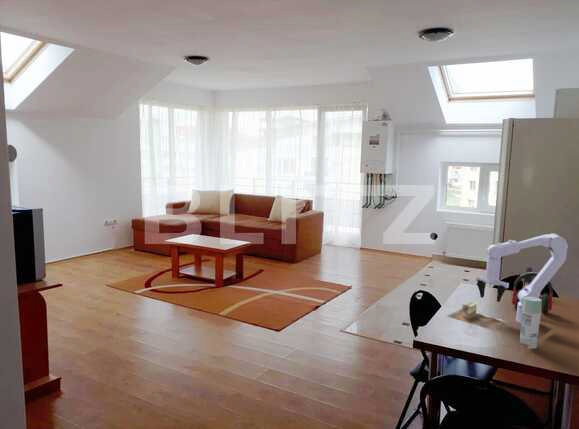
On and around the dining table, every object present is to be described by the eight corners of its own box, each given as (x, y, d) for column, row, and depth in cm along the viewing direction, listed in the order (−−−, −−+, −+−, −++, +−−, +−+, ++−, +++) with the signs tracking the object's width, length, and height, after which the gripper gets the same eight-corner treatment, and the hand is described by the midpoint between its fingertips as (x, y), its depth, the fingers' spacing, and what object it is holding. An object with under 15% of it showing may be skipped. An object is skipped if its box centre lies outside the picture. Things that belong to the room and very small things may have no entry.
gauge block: (477, 315, 213) (478, 303, 212) (468, 319, 207) (469, 307, 206) (468, 313, 216) (469, 301, 215) (459, 317, 210) (460, 304, 209)
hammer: (511, 287, 232) (524, 264, 254) (510, 314, 236) (523, 289, 258) (524, 289, 228) (536, 266, 250) (523, 317, 233) (534, 292, 255)
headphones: (511, 311, 225) (514, 272, 222) (511, 305, 234) (514, 268, 231) (551, 317, 217) (555, 277, 214) (550, 311, 226) (554, 272, 223)
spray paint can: (540, 348, 181) (545, 301, 178) (526, 349, 180) (531, 301, 177) (529, 342, 187) (533, 295, 185) (515, 343, 186) (519, 296, 183)
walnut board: (507, 324, 206) (508, 319, 206) (493, 333, 196) (493, 327, 195) (462, 311, 222) (462, 306, 222) (446, 319, 212) (446, 313, 211)
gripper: (473, 268, 210) (471, 296, 212) (505, 275, 200) (502, 305, 202) (480, 266, 215) (477, 294, 217) (511, 273, 204) (509, 301, 206)
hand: (490, 299), depth 210 cm, fingers open, 7 cm apart
